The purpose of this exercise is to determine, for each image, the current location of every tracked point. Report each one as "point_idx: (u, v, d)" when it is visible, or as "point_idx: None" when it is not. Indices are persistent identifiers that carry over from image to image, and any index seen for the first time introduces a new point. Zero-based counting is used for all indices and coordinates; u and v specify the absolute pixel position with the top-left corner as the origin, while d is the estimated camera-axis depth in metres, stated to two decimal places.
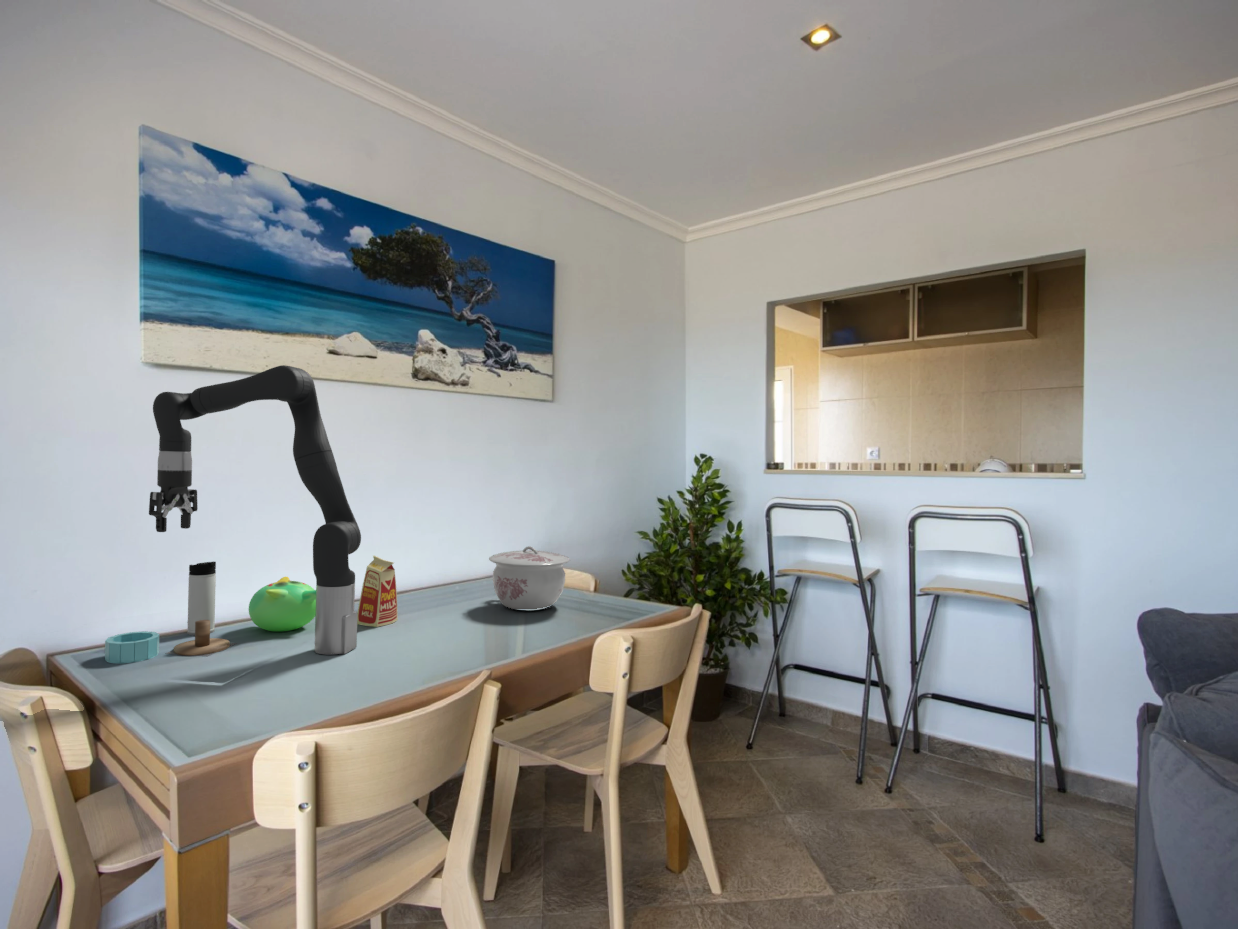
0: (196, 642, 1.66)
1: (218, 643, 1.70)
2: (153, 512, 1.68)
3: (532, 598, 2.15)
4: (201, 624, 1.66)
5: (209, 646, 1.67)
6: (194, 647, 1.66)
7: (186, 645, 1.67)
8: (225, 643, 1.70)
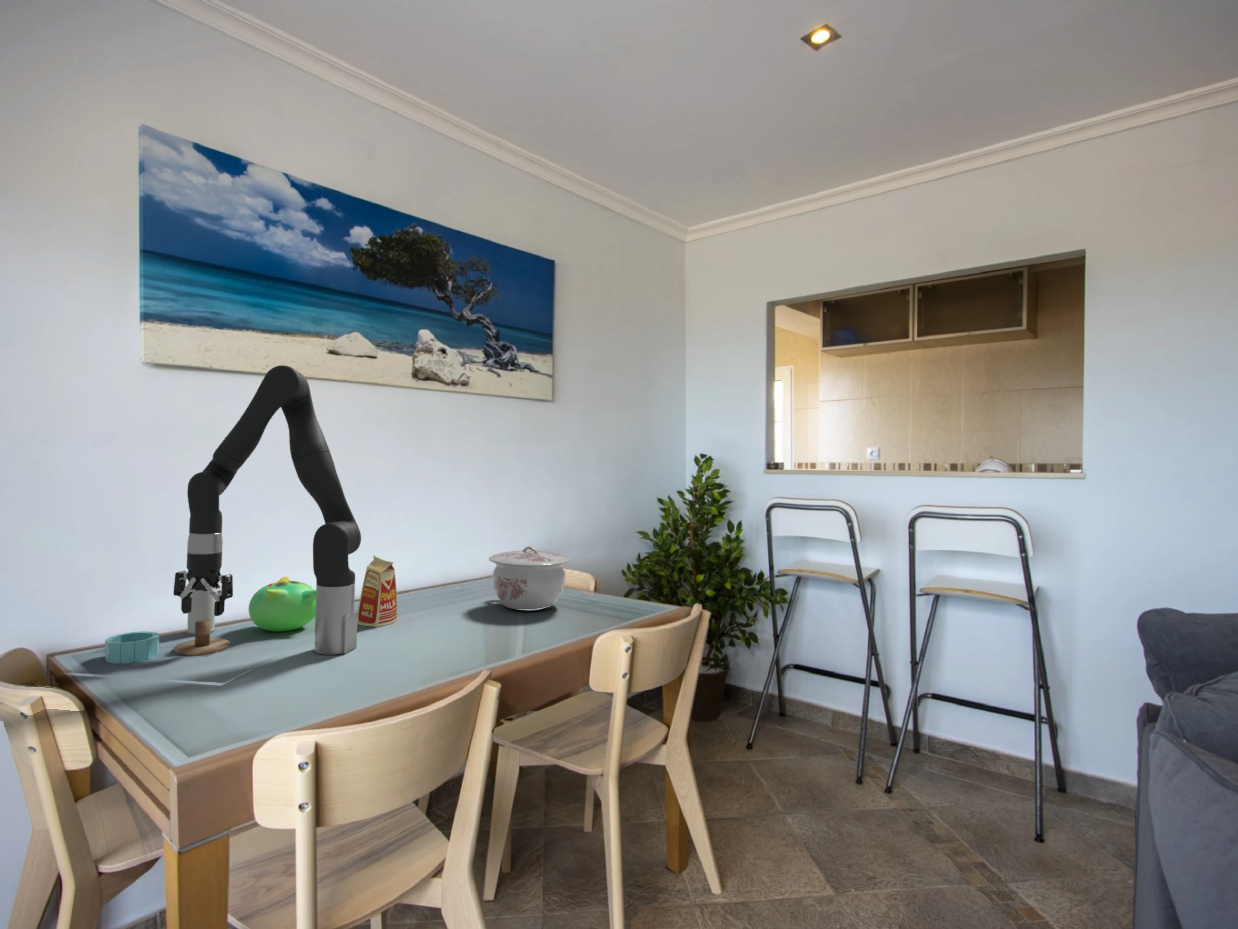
0: (196, 642, 1.66)
1: (218, 643, 1.70)
2: (229, 595, 1.67)
3: (532, 598, 2.15)
4: (201, 624, 1.66)
5: (209, 646, 1.67)
6: (194, 647, 1.66)
7: (186, 645, 1.67)
8: (225, 643, 1.70)
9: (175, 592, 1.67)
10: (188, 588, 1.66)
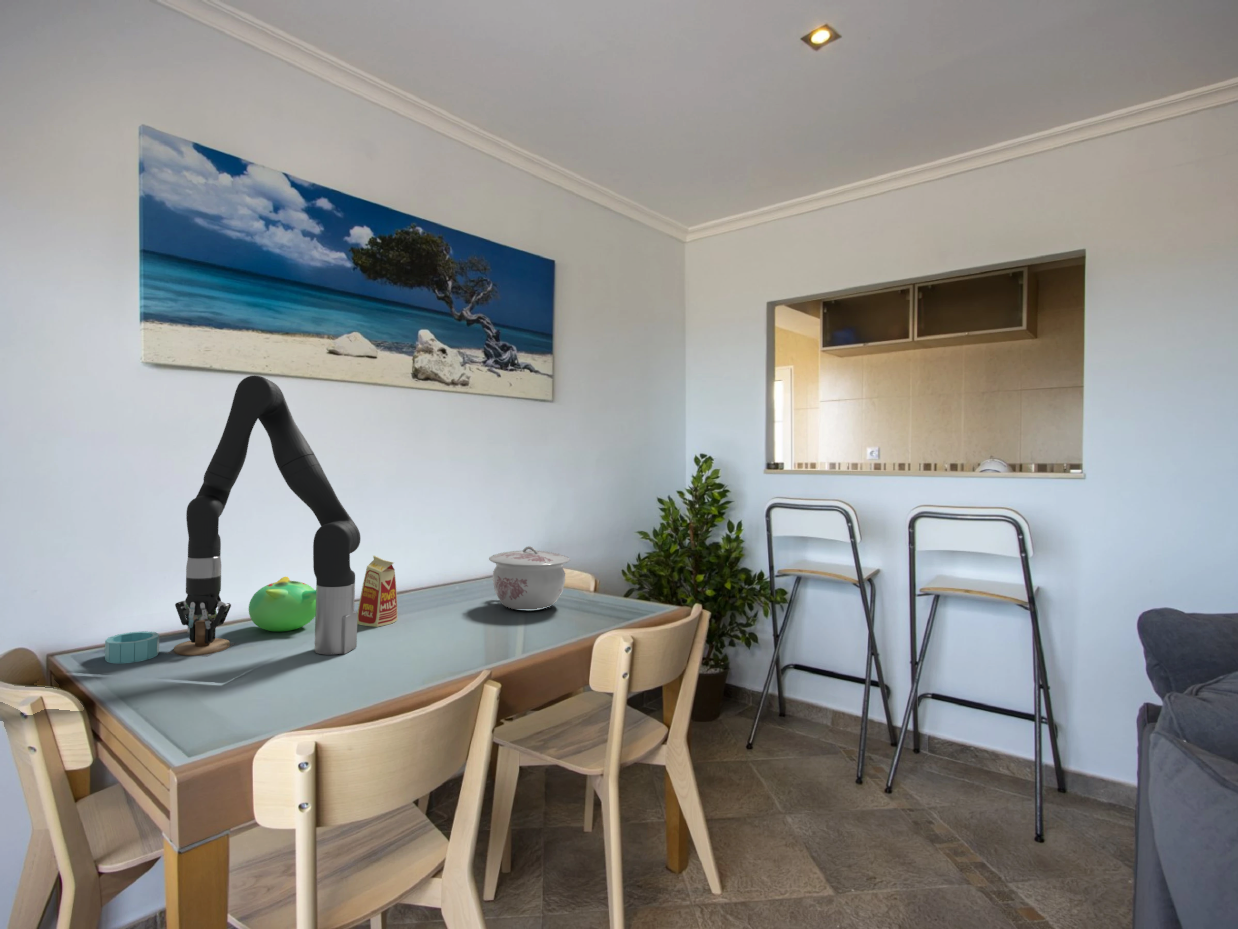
0: (196, 642, 1.66)
1: (218, 643, 1.70)
2: (220, 622, 1.67)
3: (532, 598, 2.15)
4: (201, 624, 1.66)
5: (209, 646, 1.67)
6: (194, 647, 1.66)
7: (186, 645, 1.67)
8: (225, 643, 1.70)
9: (183, 622, 1.67)
10: (192, 614, 1.66)
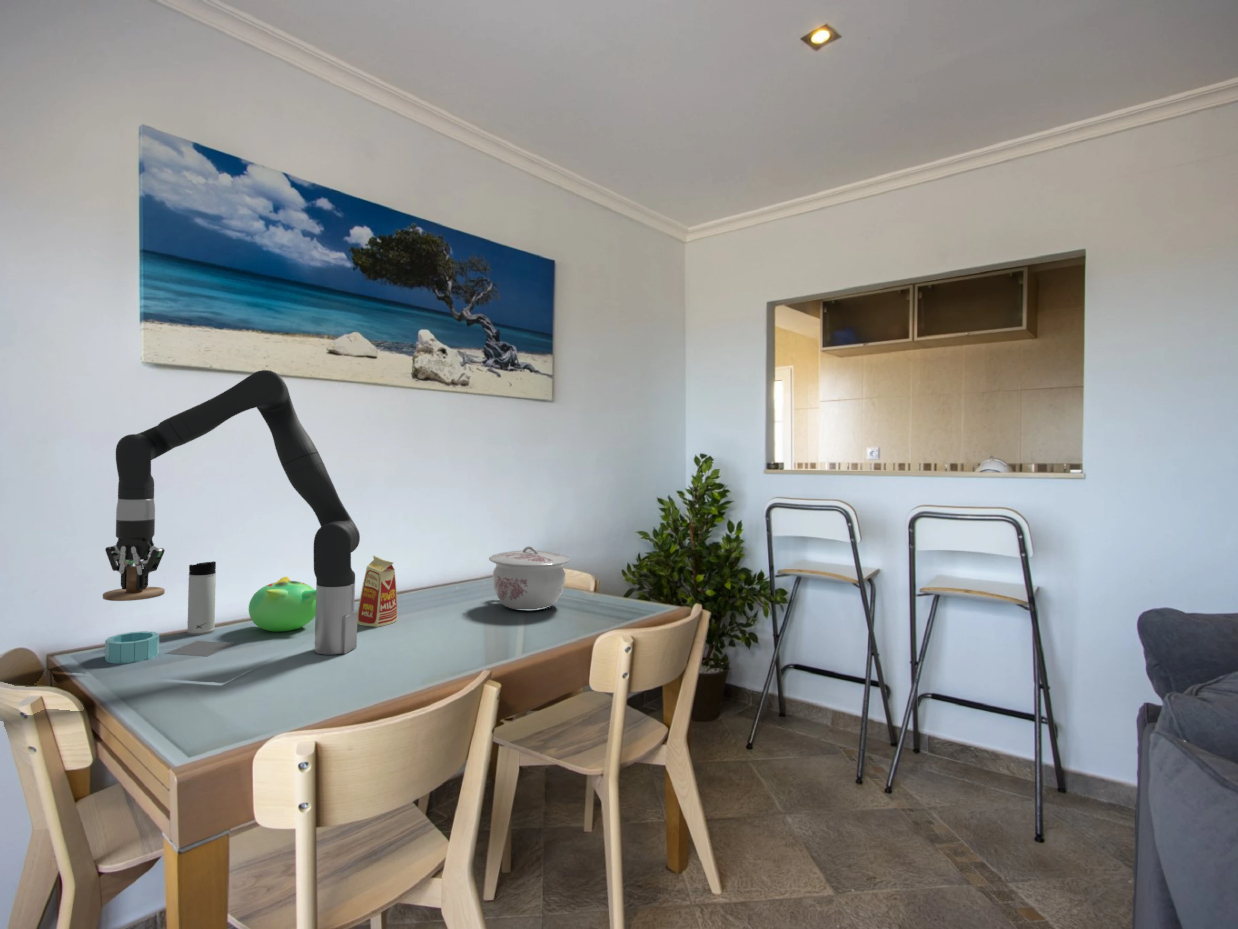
0: (127, 588, 1.58)
1: (152, 590, 1.61)
2: (152, 568, 1.59)
3: (532, 598, 2.15)
4: (132, 569, 1.58)
5: (141, 593, 1.59)
6: (125, 593, 1.57)
7: (117, 592, 1.59)
8: (159, 590, 1.62)
9: (113, 567, 1.59)
10: (122, 559, 1.58)
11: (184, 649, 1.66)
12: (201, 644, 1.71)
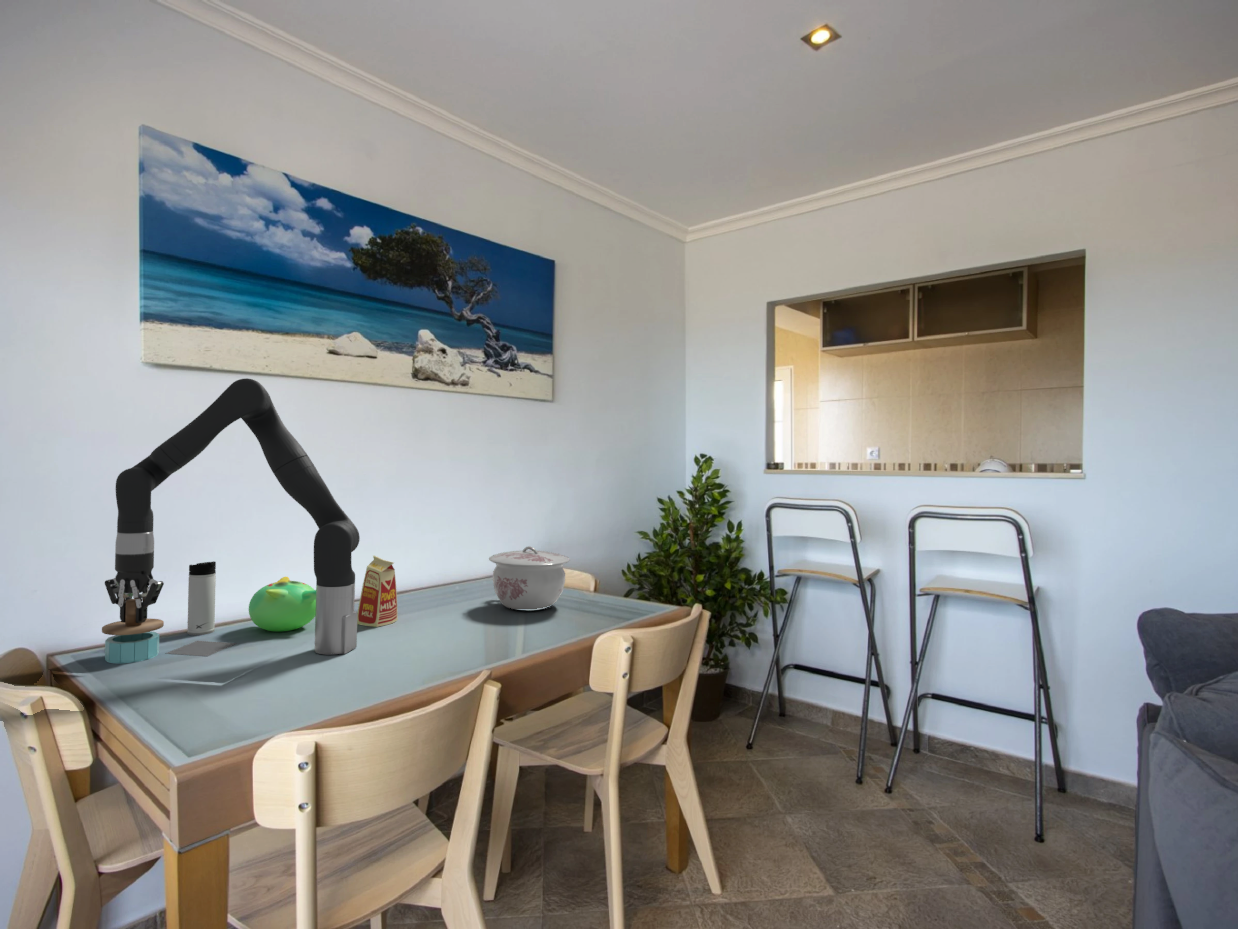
0: (126, 621, 1.58)
1: (151, 623, 1.61)
2: (151, 601, 1.59)
3: (532, 598, 2.15)
4: (132, 603, 1.58)
5: (140, 626, 1.59)
6: (124, 627, 1.58)
7: (116, 625, 1.59)
8: (158, 623, 1.62)
9: (113, 600, 1.59)
10: (122, 593, 1.58)
11: (184, 649, 1.66)
12: (201, 644, 1.71)
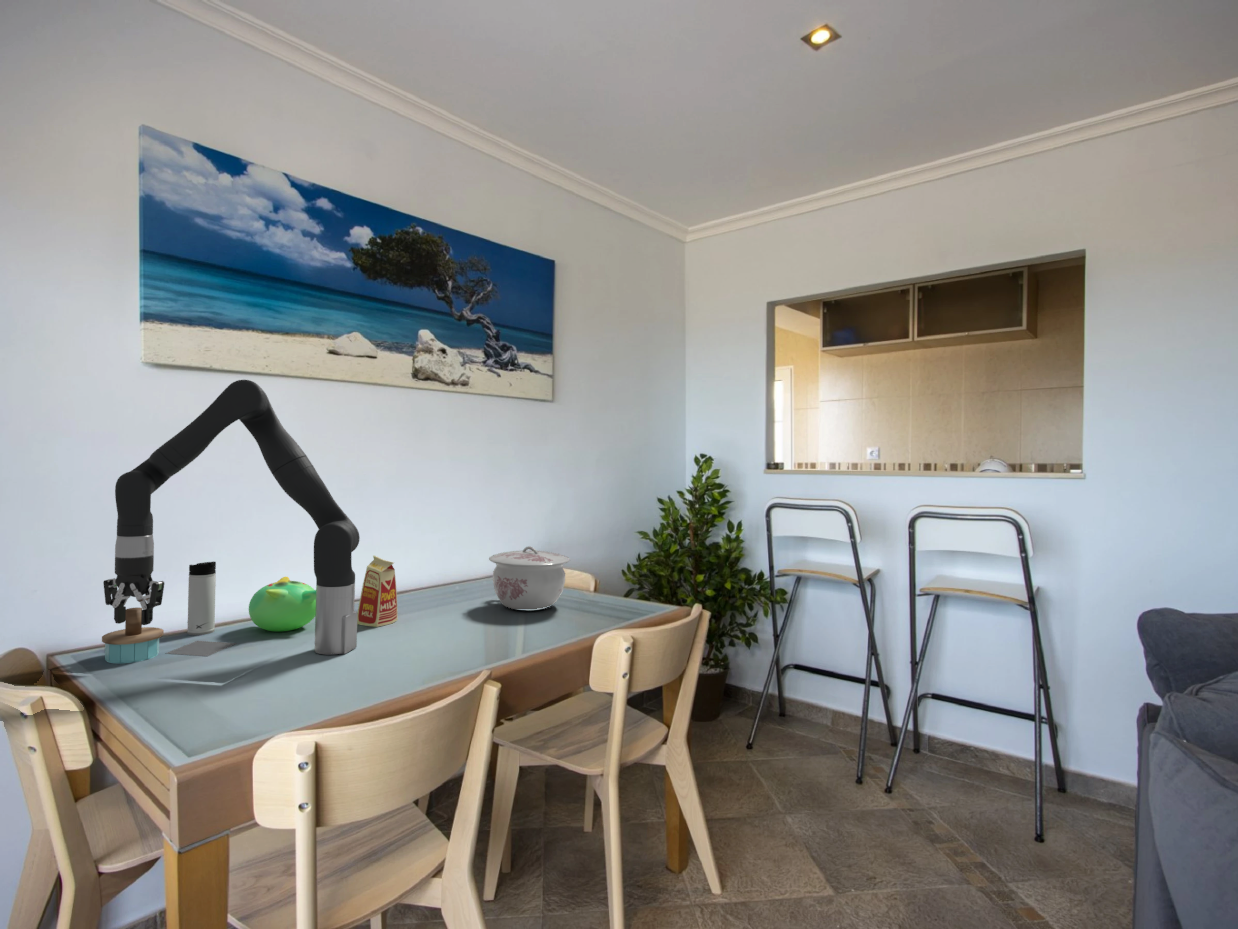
0: (126, 631, 1.58)
1: (151, 632, 1.61)
2: (157, 603, 1.59)
3: (532, 598, 2.15)
4: (131, 612, 1.58)
5: (140, 635, 1.59)
6: (124, 636, 1.58)
7: (116, 634, 1.59)
8: (158, 632, 1.62)
9: (107, 601, 1.59)
10: (119, 595, 1.58)
11: (184, 649, 1.66)
12: (201, 644, 1.71)
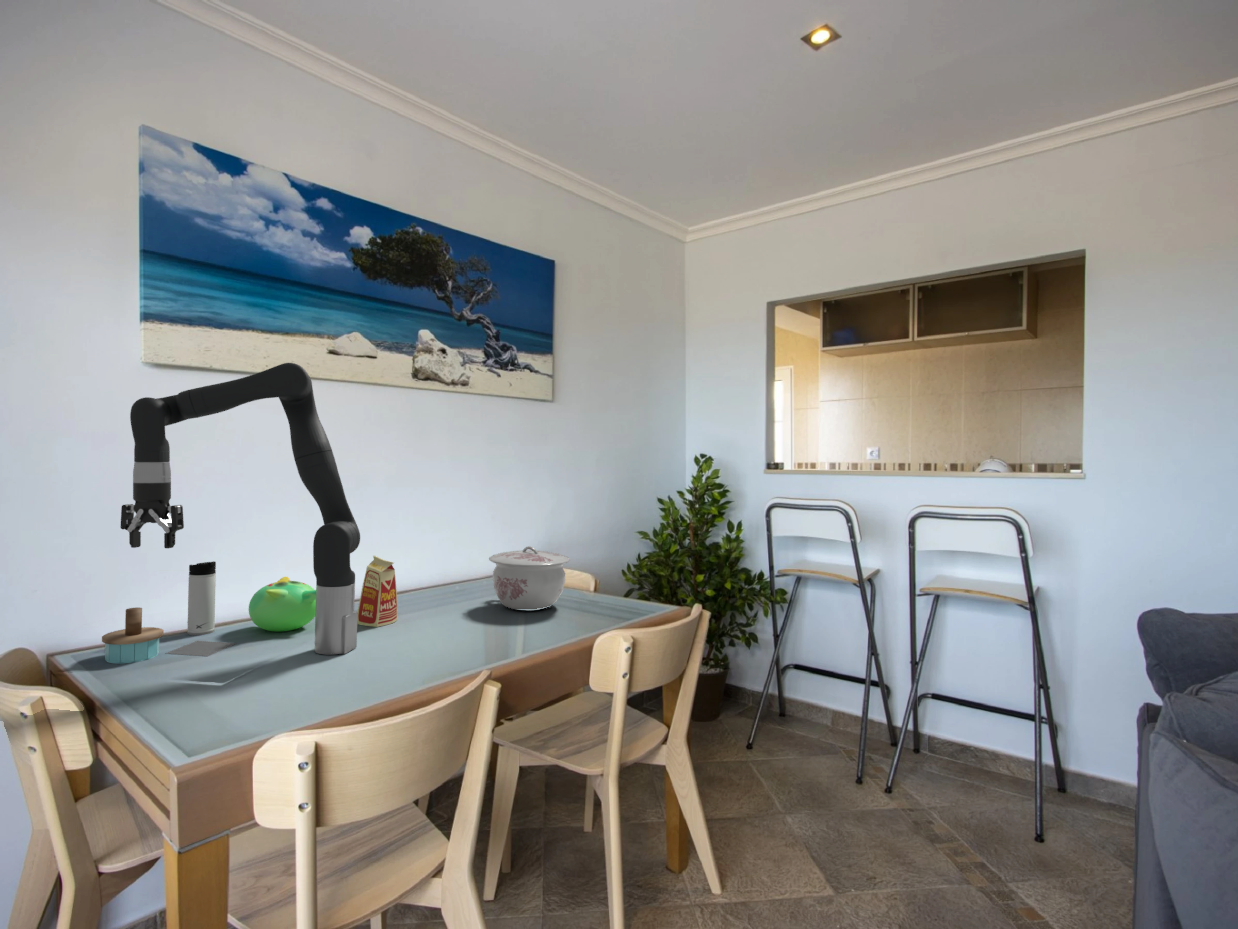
0: (126, 631, 1.58)
1: (151, 632, 1.61)
2: (179, 526, 1.60)
3: (532, 598, 2.15)
4: (131, 612, 1.58)
5: (140, 635, 1.59)
6: (124, 636, 1.58)
7: (116, 634, 1.59)
8: (158, 632, 1.62)
9: (122, 525, 1.60)
10: (136, 520, 1.59)
11: (184, 649, 1.66)
12: (201, 644, 1.71)
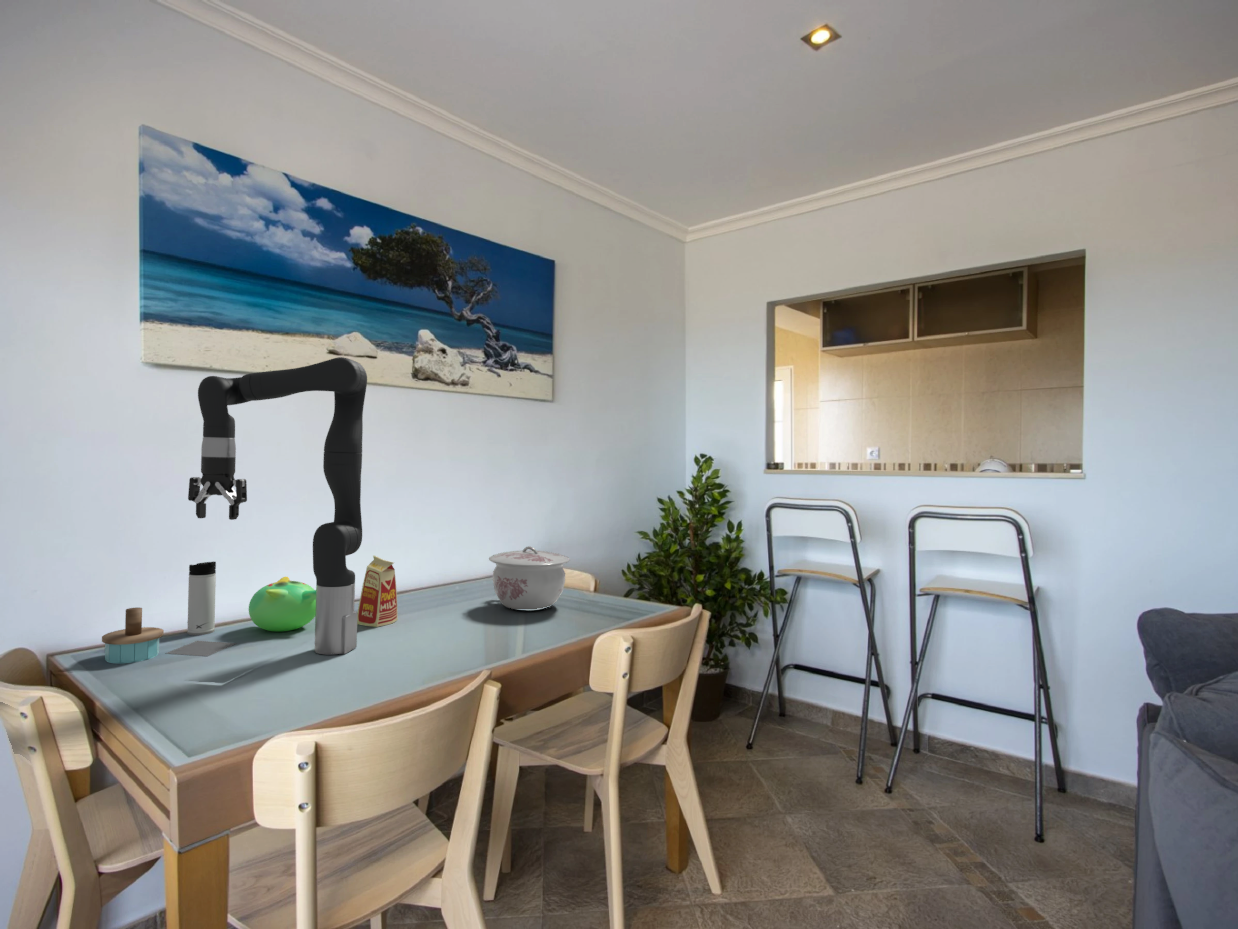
0: (126, 631, 1.58)
1: (151, 632, 1.61)
2: (243, 499, 1.69)
3: (532, 598, 2.15)
4: (131, 612, 1.58)
5: (140, 635, 1.59)
6: (124, 636, 1.58)
7: (116, 634, 1.59)
8: (158, 632, 1.62)
9: (190, 497, 1.69)
10: (203, 492, 1.68)
11: (184, 649, 1.66)
12: (201, 644, 1.71)
